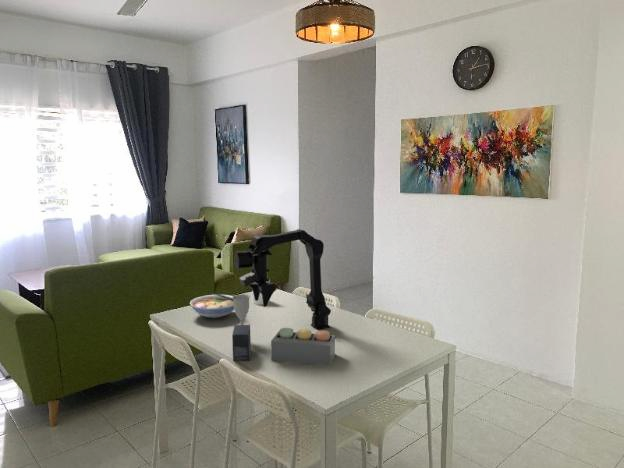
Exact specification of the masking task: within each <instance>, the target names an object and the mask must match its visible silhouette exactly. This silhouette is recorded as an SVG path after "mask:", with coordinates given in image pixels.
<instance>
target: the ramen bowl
mask: <svg viewBox="0 0 624 468" xmlns="http://www.w3.org/2000/svg"><path fill="white" fill-rule="evenodd" d="M233 296H234V295H229V294H219V293H217V292H216V293H215V292H212V294H209V295H207V294H206V295H202V296H198V297H195V298H193V299H191V300H190V302H189V305H190V307H191V308H192V309H193V310H194V311H195V312H196V313H197V314H198V315H200V316H202V317H205V318H209V319H220V318H223V317H224V316H227V315H229V314H230V313H232V312H233V311H235V310H234V299H233V298H232V297H233Z"/></svg>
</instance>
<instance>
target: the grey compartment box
mask: <svg viewBox="0 0 624 468" xmlns="http://www.w3.org/2000/svg"><path fill="white" fill-rule="evenodd" d="M335 338H336V335H335V334H330V341H329V342H327V341H316V333H312V332H311V340H302V339H298V331H293V339H289V338H280V330H279V331H277V333H276V334H275V335H274V336H273V338H272V339H271V341H270V342H271V343H270V344H271V345H270V347H271V349H270V350H271V356H270V357H271V361H275V362H276V361H277V362H285V363H298V364H310V365H321V366H331V364H332V361H333V359H334V357H335V354H336V339H335Z"/></svg>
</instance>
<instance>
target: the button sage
mask: <svg viewBox="0 0 624 468" xmlns="http://www.w3.org/2000/svg"><path fill="white" fill-rule="evenodd" d="M279 331H280V338H289V339H293V332H294V329H293V328H291V327H283V328H280V329H279Z"/></svg>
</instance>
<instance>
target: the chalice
mask: <svg viewBox="0 0 624 468" xmlns="http://www.w3.org/2000/svg"><path fill="white" fill-rule="evenodd" d="M232 296H233V297H232V298H233V299H234V310H233V311H234V313H235V314H236V316H237V318H238V319H239V320H240V321H239V325H245V324H244V319H246V317H247V315H248V313H249V310H250V298H251V295H249V294H245V293H244V294H235V295H232Z"/></svg>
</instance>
